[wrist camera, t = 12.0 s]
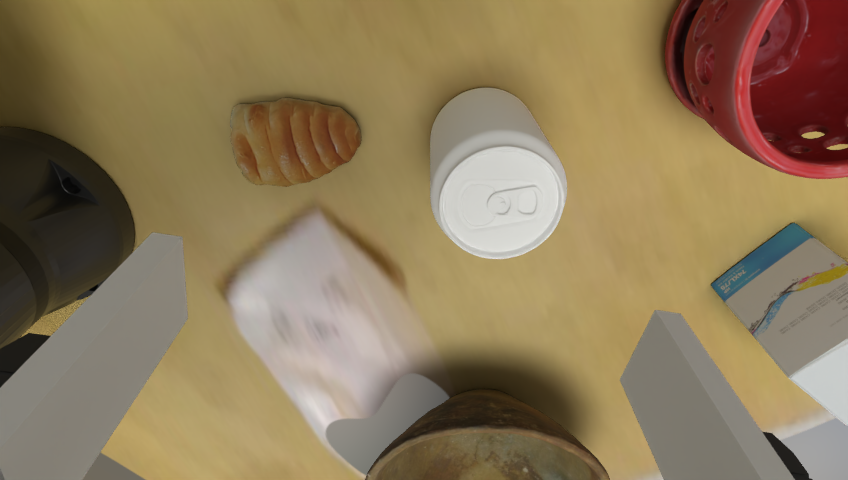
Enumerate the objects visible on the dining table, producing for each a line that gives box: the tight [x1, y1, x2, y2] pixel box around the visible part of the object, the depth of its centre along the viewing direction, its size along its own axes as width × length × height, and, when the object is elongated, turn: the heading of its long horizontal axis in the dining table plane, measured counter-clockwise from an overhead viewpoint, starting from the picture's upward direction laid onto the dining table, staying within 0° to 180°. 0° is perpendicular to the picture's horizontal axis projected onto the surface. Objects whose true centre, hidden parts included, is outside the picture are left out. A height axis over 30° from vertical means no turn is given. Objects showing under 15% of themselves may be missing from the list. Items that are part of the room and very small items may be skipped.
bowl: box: [365, 389, 610, 480], centre depth 51 cm, size 22×23×10 cm
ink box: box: [711, 223, 848, 426], centre depth 41 cm, size 9×8×12 cm
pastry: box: [230, 98, 362, 187], centre depth 38 cm, size 9×7×4 cm
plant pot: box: [665, 0, 848, 179], centre depth 30 cm, size 13×13×12 cm
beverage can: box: [430, 88, 567, 259], centre depth 34 cm, size 8×8×12 cm
